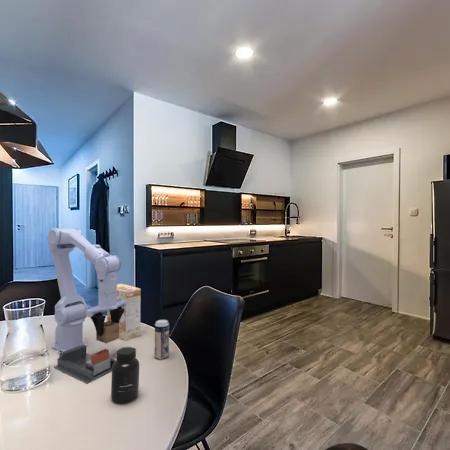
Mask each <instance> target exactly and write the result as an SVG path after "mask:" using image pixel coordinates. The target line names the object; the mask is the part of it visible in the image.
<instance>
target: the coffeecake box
mask: <svg viewBox="0 0 450 450" xmlns="http://www.w3.org/2000/svg"><path fill="white" fill-rule="evenodd" d="M141 291H142V289H141V288H139V287H136V286H132V285H129V284H126V283H125V284H124V283H117V301H121V300H125V301H127V306H125V307H122V308H124V313H123V314H122V316H121V318H120V321H119V338H120V339H122V340H123V341H129V340H131V339H134V338H138V337H141V301H142V299H141V297H142V296H141V295H142V294H141ZM106 312H107V314H106V316H107V317H106V319H107V320H106V322H107V321H111V316H110V311H106ZM119 338H118V339H119Z"/></svg>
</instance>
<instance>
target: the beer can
mask: <svg viewBox="0 0 450 450" xmlns="http://www.w3.org/2000/svg"><path fill="white" fill-rule="evenodd" d="M169 345H170V323H169V320H167V319H158V320H156V321H155V324H154V355H153V356H154V357H155V358H156V359H159V360H162V359H166V358H167V357H169V354H170V350H169V349H170V346H169Z"/></svg>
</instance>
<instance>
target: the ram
mask: <svg viewBox="0 0 450 450" xmlns="http://www.w3.org/2000/svg"><path fill="white" fill-rule="evenodd" d="M110 358H111V357H110V349H107V348H104V349H102V350H99V351H97V352H95V353H91V360H89V361H87V362H86V369H89V370H91V371H93V372H94V375H96V374H98V373H100V372H102V371H104V370H106V369H108V368H110Z"/></svg>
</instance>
